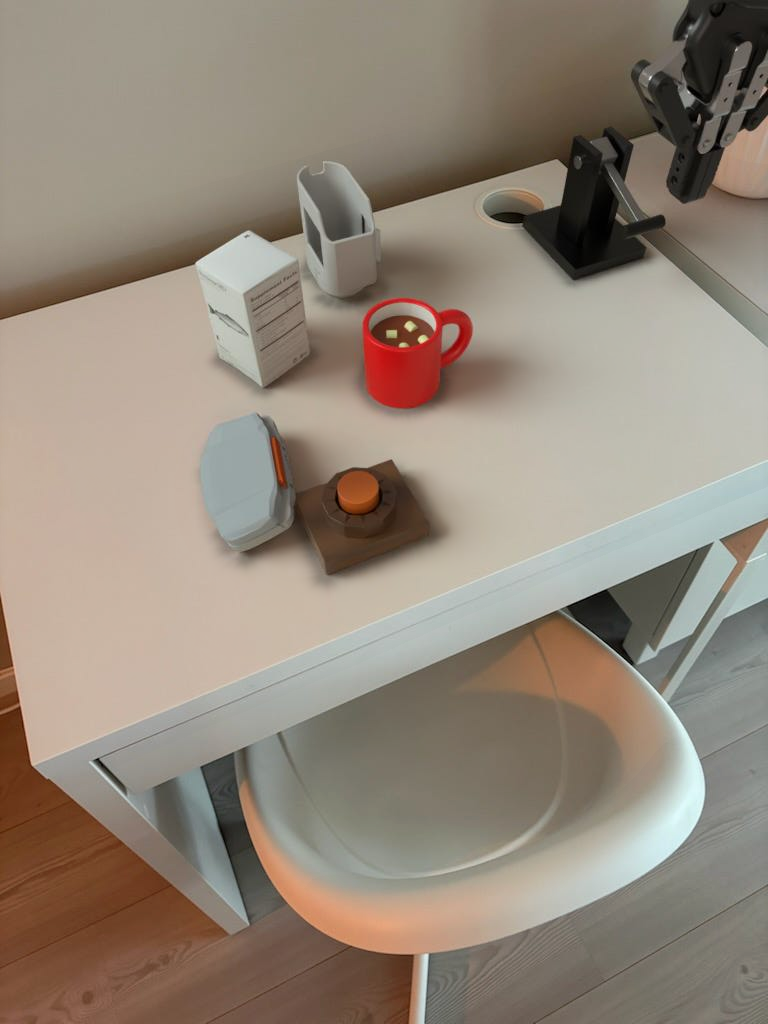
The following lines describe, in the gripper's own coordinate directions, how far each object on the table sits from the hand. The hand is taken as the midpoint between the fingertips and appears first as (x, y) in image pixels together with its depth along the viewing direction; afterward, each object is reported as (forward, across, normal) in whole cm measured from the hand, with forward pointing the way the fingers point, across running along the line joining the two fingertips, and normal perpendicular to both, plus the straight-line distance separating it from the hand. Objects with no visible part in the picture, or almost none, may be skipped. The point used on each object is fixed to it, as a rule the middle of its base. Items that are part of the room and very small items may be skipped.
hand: (685, 195), depth 52 cm
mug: (+27, -12, +17) cm, 34 cm away
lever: (+19, +17, +25) cm, 36 cm away
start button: (+23, -25, +2) cm, 34 cm away
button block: (+27, -25, +2) cm, 37 cm away
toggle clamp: (+27, +16, +29) cm, 43 cm away
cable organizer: (+27, -14, +34) cm, 46 cm away
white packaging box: (+27, -26, +27) cm, 46 cm away
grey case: (+26, -37, +10) cm, 46 cm away
